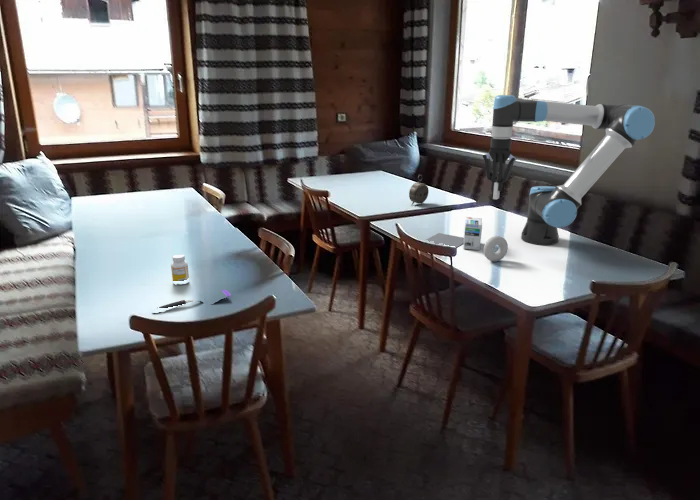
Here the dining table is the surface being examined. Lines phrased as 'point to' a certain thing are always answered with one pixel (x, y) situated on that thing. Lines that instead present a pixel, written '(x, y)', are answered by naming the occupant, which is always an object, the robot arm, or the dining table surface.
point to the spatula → (189, 301)
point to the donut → (501, 251)
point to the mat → (447, 239)
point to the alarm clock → (418, 192)
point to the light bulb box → (472, 233)
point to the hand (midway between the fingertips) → (495, 198)
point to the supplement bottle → (179, 268)
